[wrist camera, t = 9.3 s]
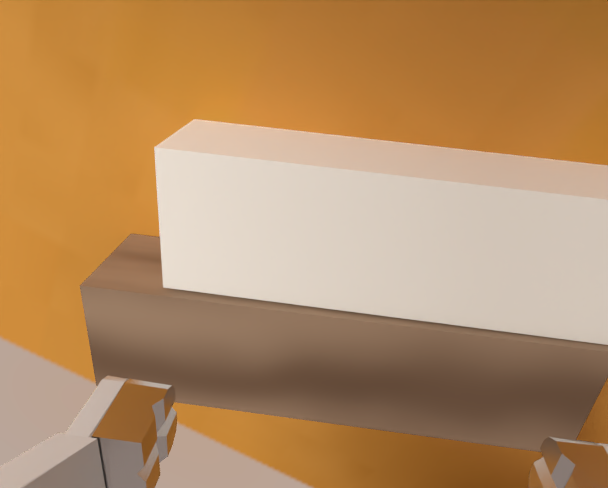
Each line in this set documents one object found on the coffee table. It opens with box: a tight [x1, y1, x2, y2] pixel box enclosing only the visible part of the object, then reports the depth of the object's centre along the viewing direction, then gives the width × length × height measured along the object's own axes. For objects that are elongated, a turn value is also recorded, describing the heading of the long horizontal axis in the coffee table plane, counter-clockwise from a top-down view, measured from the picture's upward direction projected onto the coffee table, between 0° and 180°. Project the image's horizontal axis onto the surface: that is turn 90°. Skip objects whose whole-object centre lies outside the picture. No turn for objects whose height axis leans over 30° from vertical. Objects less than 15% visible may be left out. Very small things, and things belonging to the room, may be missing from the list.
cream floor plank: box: [154, 119, 608, 345], centre depth 20 cm, size 6×20×5 cm, turn 85°
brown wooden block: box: [80, 234, 608, 452], centre depth 22 cm, size 6×22×5 cm, turn 85°
